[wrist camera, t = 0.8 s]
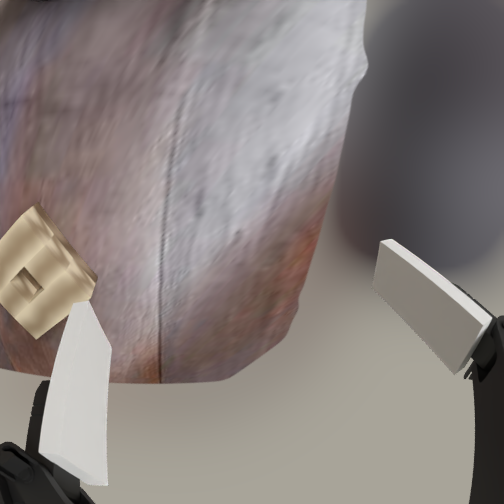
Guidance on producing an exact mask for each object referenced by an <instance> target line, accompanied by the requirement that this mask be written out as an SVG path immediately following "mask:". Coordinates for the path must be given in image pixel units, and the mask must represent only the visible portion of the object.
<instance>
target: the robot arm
mask: <svg viewBox="0 0 504 504" xmlns="http://www.w3.org/2000/svg"><path fill="white" fill-rule="evenodd" d="M33 1H46V0H33ZM372 289H373V290H374V291H375V292H376V293H377V294H378V295H379V296H380V297H381V298H383V300H384V301H385V302H386V303H387V304H388V305H389V306H390V307H391V308H392V309H393V310H394V311H395V312H396V313H397V314H398V315H399V316H400V317H401V318H402V319H403V320H404V321H405V322H406V323H407V324H408V325H409V326H410V327H411V328H412V329H413V330H414V332H416V334H418V336H419V337H420V338H421V339H422V340H423V341H424V342H425V343H426V344H427V345H428V346H429V348H430V349H432V351H433V352H434V353H435V354H436V355H437V356H438V357H439V358H440V360H441V361H442V362H443V363H444V364H445V365H446V366H447V367H448V368H449V370H450V371H451V372H452V373H453V374H454V375H455V374H456V373H457V372H459V371H460V370H461V369H462V368H464V367H465V365H466V364H467V362H468V361H469V359H470V358H472V359H473V360H474V361H473V362H472V364H471V365H470V367H469V369H468V370H467V371H466V373H465V375H464V379H466V378H467V377H468V375H469V374H470V372H471V371H472V374H471V375H470V377H469V379H471V380H473V390H474V405H475V453H474V468H473V478H472V487H471V494H470V500H469V504H504V316H499V317H498V318H496V317H495V316H494V315H492V314H491V313H490V312H489V311H488V310H487V309H486V308H484V307H483V306H482V305H481V304H480V303H479V302H477V301H476V300H475V299H473V298H472V297H471V296H470V295H469V294H467V293H466V292H465V291H464V290H463V289H461V288H460V287H459V286H458V285H456V284H454V283H452V282H449V281H448V280H447V279H446V278H444V277H443V276H442V275H440V274H439V273H438V272H437V271H435V270H434V269H433V268H431V267H430V266H429V265H427V264H426V263H425V262H423V261H422V260H420V259H419V258H418V257H417V256H415V255H414V254H412V253H411V252H410V251H408V250H407V249H405V248H404V247H403V246H401V245H400V244H398V243H397V242H395V241H394V240H393V239H388V240H384V241H380V247H379V252H378V258H377V264H376V270H375V275H374V280H373V285H372ZM111 353H112V347H111V345H110V343H109V341H108V339H107V337H106V335H105V334H104V332H103V330H102V328H101V326H100V324H99V321H98V319H97V317H96V315H95V313H94V311H93V309H92V307H91V304H90V302H89V301H83V302H78V303H73V305H72V308H71V311H70V314H69V317H68V320H67V323H66V326H65V329H64V332H63V336H62V339H61V342H60V346H59V349H58V353H57V356H56V360H55V364H54V368H53V372H52V376H51V380H47V381H42V382H41V384H40V386H39V387H38V389H37V391H36V393H35V397H34V402H33V405H34V406H33V407H32V412H31V415H32V416H31V417H30V423H29V428H28V435H27V441H26V449H25V451H24V450H23V449H21V448H20V447H19V446H17V445H16V444H14V443H12V442H4V443H2V444H0V504H95V503H94V502H93V501H92V499H91V498H90V497H89V496H88V495H87V493H86V492H85V491H84V490H83V489H82V488H81V487H80V480H81V481H83V482H85V483H86V484H88V485H102V486H108V477H107V438H106V437H107V400H108V385H109V372H110V362H111Z"/></svg>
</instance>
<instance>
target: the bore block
mask: <svg viewBox="0 0 504 504" xmlns="http://www.w3.org/2000/svg"><path fill="white" fill-rule="evenodd" d="M97 278H98V277H97V276H96V274H95V273H94V272H93V271H92V270H91V269H90V268H89V266H88V265H87V264H86V263H85V262H84V261H83V259H82V258H81V257H80V256H79V255H78V253H77V252H76V251H75V250H74V249H73V247H72V246H71V245H70V244H69V242H68V241H67V240H66V239H65V237H64V236H63V235H62V234H61V232H60V231H59V230H58V228H57V227H56V226H55V224H54V223H53V222H52V220H51V219H50V218H49V216H48V215H47V214H46V212H45V211H44V209H43V208H42V207H41V205H40V204H39V202H37V203H36V204H35V205H34V206H32V207H31V208H30V209H29V210H27V211H26V212H25V213H24V214H22V215H21V217H20V218H19V219H18V220H17V221H16V222H15V223H14V224H13V226H12V227H11V228H10V229H9V230H8V231H7V233H6V234H5V235H4V236H3V238H2V239H1V240H0V303H1V304H2V305H3V306H4V308H5V309H6V310H7V311H8V312H9V313H10V314H11V315H12V316H13V317H14V318H15V319H16V320H17V321H18V322H19V323H20V324H21V325H22V326H23V327H24V328H25V329H26V330H27V331H28V332H29V333H30V334H31V335H32V336H33V337H34V338H35V339H38V338H39V337H40V336H41V335H43V334H44V333H45V332H47V331H48V330H49V329H50V328H52V327H53V326H54V325H56V324H57V323H58V322H60V321H61V320H62V319H63V318H65V317H66V316H67V315H69V314H70V311H71V308H72V305H73V303H78V302H83V301H88V300H89V299H90V298H91V296H92V293H93V290H94V287H95V284H96V281H97Z"/></svg>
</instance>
